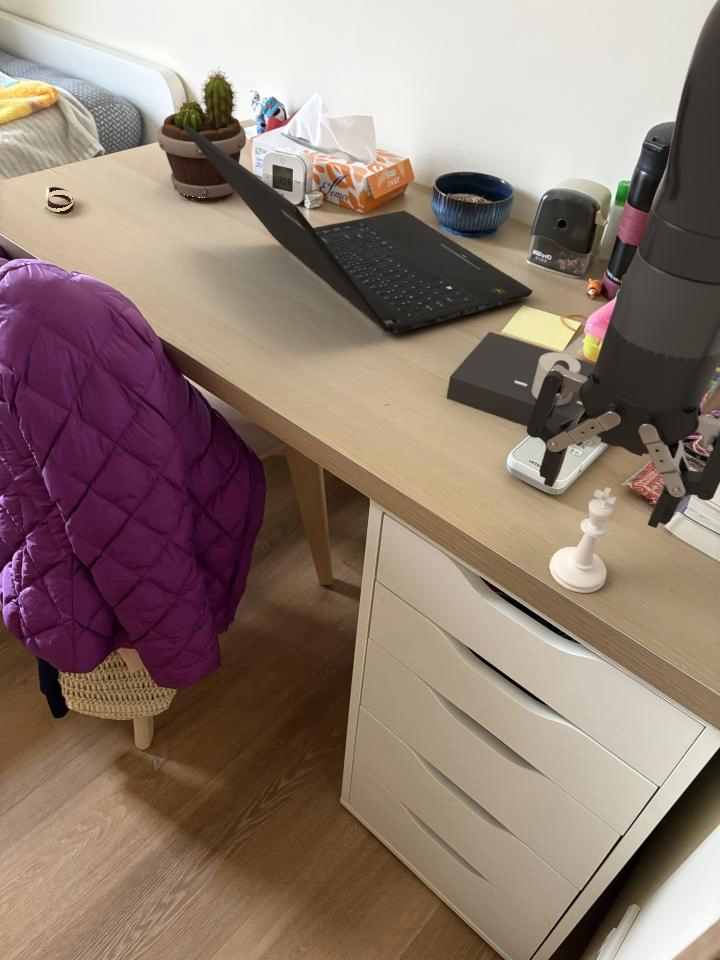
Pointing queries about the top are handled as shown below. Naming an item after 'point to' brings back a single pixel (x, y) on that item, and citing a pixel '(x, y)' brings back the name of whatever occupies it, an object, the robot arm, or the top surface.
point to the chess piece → (585, 550)
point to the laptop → (376, 256)
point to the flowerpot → (215, 125)
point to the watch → (57, 204)
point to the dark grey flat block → (506, 380)
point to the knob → (544, 367)
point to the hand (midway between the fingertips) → (601, 500)
